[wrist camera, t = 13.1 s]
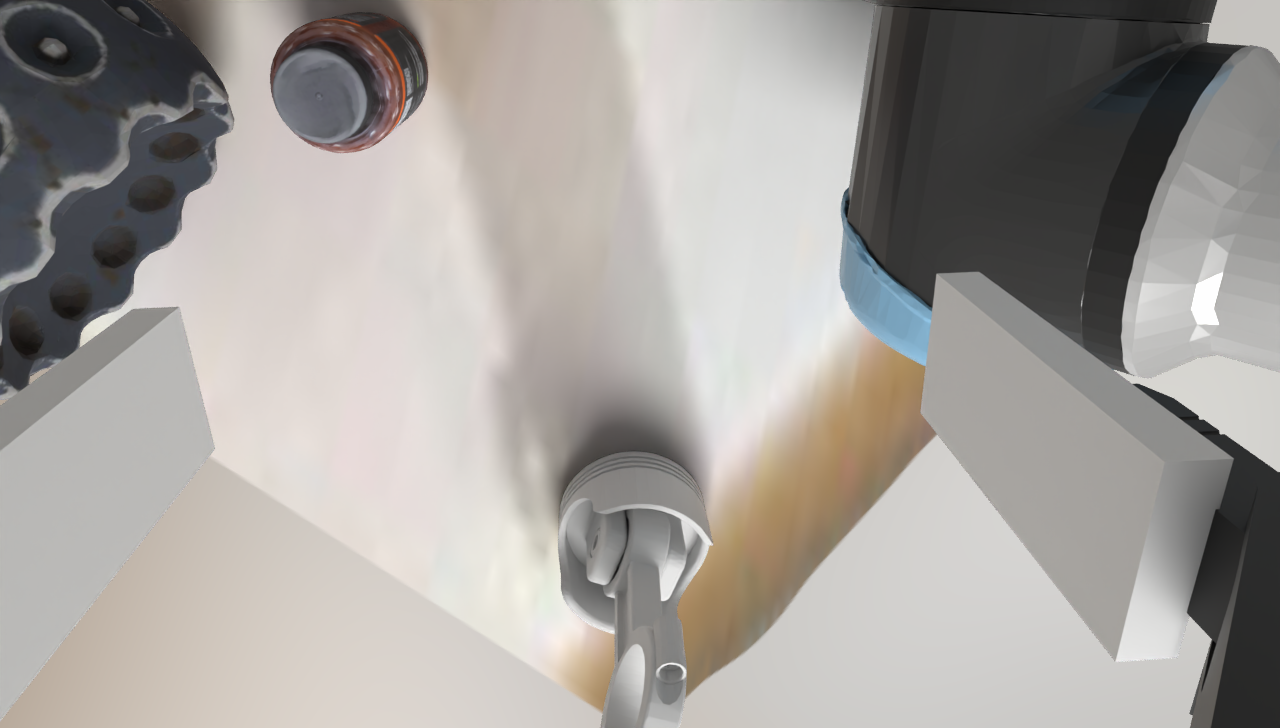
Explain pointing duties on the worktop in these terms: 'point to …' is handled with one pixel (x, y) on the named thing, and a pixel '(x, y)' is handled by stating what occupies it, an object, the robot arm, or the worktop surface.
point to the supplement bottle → (348, 80)
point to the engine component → (634, 575)
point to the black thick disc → (91, 163)
